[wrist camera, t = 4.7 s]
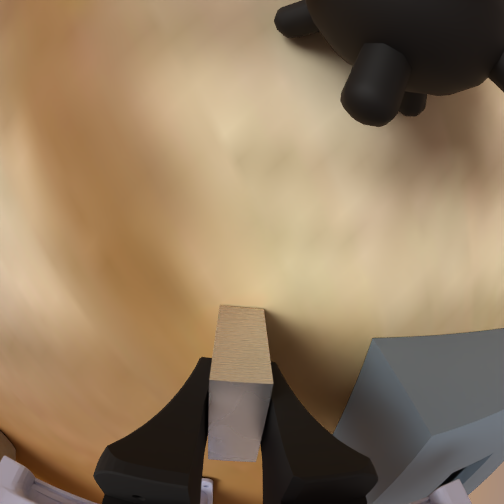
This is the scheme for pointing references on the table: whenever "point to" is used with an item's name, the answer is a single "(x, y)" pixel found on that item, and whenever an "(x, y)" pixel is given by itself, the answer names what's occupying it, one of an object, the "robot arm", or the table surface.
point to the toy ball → (404, 49)
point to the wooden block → (239, 384)
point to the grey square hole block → (428, 413)
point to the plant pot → (6, 448)
